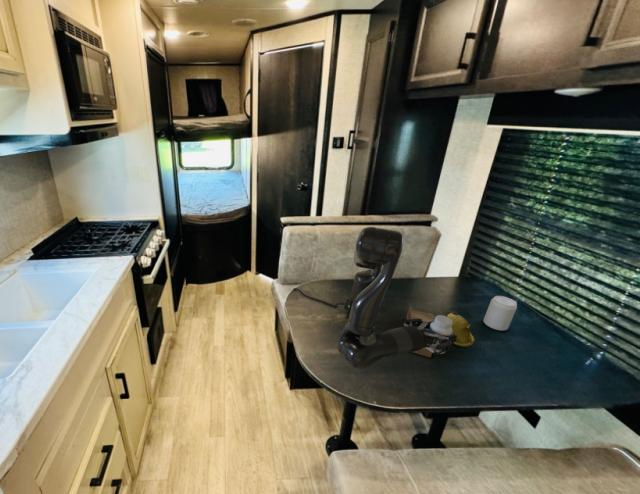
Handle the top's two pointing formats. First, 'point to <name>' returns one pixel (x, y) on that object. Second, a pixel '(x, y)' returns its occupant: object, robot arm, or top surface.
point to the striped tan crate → (425, 317)
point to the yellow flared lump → (461, 330)
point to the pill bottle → (441, 328)
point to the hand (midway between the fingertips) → (445, 330)
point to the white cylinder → (500, 313)
